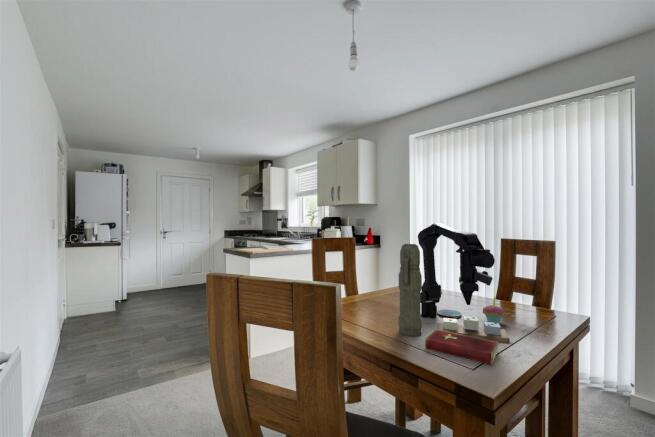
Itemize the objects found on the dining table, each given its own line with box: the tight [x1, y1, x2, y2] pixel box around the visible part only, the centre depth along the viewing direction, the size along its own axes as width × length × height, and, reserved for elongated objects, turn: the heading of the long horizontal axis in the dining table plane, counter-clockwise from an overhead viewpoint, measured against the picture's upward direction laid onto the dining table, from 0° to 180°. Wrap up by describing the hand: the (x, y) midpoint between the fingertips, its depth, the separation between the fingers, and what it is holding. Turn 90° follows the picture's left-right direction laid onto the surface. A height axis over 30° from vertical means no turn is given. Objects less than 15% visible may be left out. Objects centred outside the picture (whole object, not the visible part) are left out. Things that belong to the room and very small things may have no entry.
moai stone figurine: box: [398, 243, 423, 338], centre depth 125 cm, size 9×12×35 cm
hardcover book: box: [424, 328, 500, 366], centre depth 108 cm, size 12×21×4 cm, turn 53°
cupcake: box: [482, 295, 505, 324], centre depth 138 cm, size 9×8×12 cm
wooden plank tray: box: [436, 322, 511, 343], centre depth 124 cm, size 25×10×2 cm, turn 70°
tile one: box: [443, 317, 458, 330], centre depth 126 cm, size 5×5×3 cm
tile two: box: [462, 315, 480, 329], centre depth 124 cm, size 5×5×3 cm
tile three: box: [483, 321, 502, 335], centre depth 121 cm, size 5×5×3 cm
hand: (468, 304), depth 124 cm, fingers closed
